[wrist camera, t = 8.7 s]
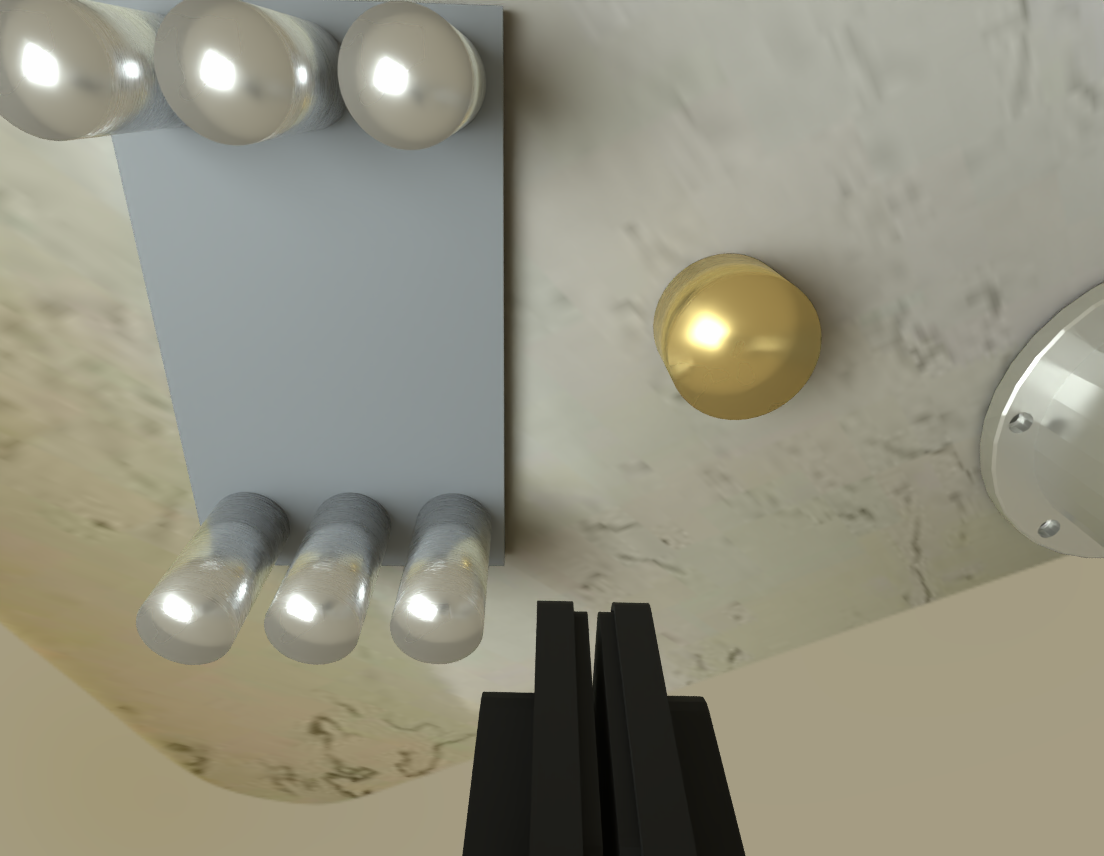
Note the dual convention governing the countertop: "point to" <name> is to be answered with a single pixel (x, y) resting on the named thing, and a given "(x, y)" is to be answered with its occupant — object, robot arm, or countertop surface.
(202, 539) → the steel spacers
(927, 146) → the countertop surface
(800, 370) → the gold rounded lump
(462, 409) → the plate
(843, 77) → the countertop surface
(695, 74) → the countertop surface
